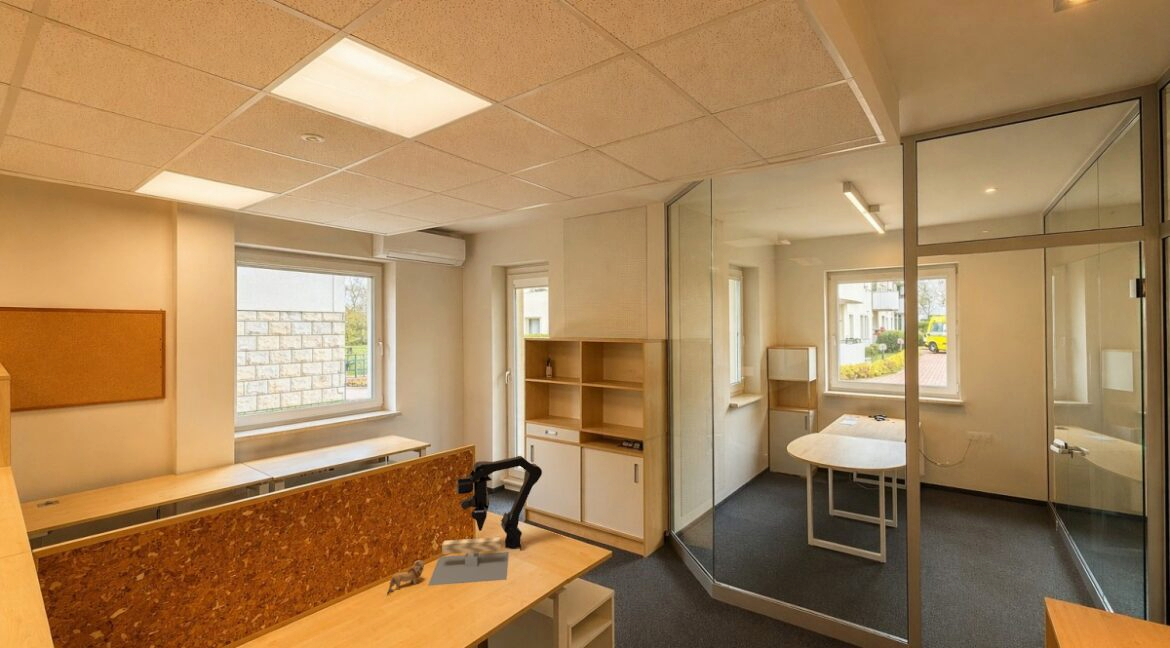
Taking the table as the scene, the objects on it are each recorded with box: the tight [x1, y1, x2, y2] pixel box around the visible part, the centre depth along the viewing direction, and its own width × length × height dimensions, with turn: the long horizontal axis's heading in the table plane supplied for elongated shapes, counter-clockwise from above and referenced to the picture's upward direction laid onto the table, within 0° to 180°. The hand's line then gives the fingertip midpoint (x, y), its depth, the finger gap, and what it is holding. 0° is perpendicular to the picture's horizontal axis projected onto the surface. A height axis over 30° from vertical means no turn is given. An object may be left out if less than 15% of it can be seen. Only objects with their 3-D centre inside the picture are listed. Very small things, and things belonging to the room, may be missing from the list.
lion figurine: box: [386, 559, 424, 595], centre depth 193 cm, size 15×5×9 cm, turn 134°
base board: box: [428, 551, 509, 586], centre depth 207 cm, size 30×25×1 cm
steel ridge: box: [465, 552, 480, 568], centre depth 211 cm, size 5×8×5 cm, turn 7°
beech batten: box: [441, 536, 502, 555], centre depth 211 cm, size 24×4×4 cm, turn 97°
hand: (481, 526), depth 222 cm, fingers open, 9 cm apart
